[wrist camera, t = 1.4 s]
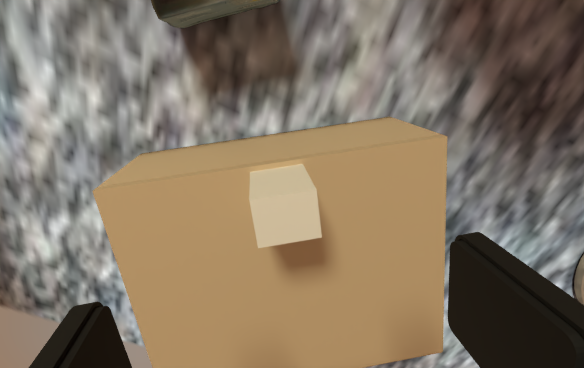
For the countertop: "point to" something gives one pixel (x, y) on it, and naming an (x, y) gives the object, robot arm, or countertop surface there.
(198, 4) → the beverage carton
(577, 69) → the countertop surface
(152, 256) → the carton lid
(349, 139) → the carton
